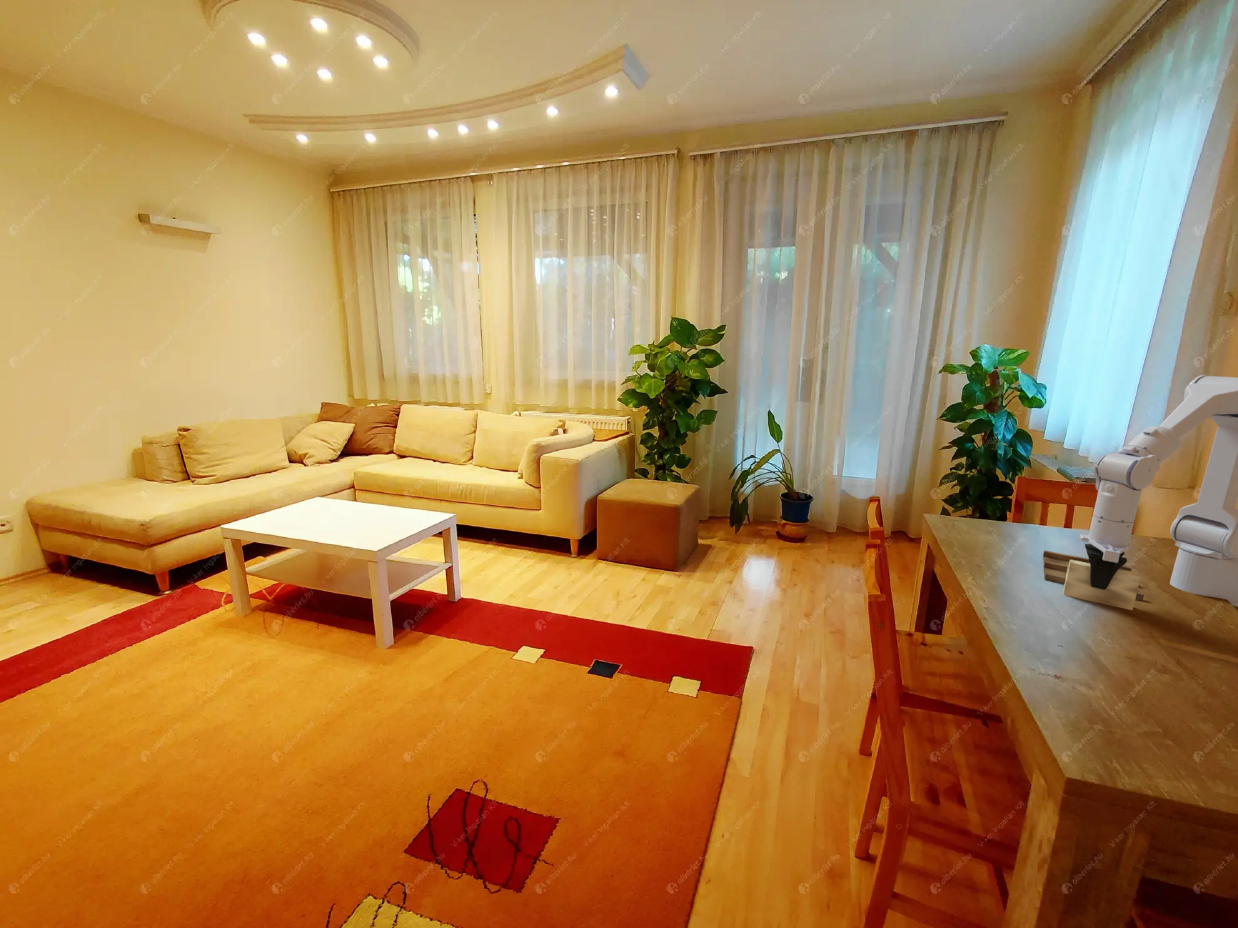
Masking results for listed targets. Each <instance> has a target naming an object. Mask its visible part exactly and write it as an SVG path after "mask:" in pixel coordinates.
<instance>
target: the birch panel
mask: <svg viewBox="0 0 1238 928" xmlns="http://www.w3.org/2000/svg"><path fill="white" fill-rule="evenodd" d="M1090 572H1091V567H1090V563H1085V562H1080V561H1075V560H1070V561H1069V566H1068V570H1067V575H1066V580H1065V584H1063V585H1064V586H1063V588H1062V590H1063V591H1062V595H1064V596H1068V597H1071V598H1075V599H1080V600H1085V601H1090V602H1093V603H1098V604H1103V605H1107V606H1113V607H1116V608H1121V609H1125V610H1129V611H1133V609H1134V606H1135V602H1136V599H1135V598H1136V594H1137V590H1138V591H1139V585H1140V582H1141V579H1142V577H1141V573H1140V572H1136V571H1132V570H1131V571H1126V570H1121V569H1119V570H1118V571H1117V572H1116V573H1115V575H1114V576H1113V578H1112V580H1111V582H1110V584H1109V585H1108V587H1107V588H1106V590H1103V589H1098V588H1094V587H1091V582H1090Z"/></svg>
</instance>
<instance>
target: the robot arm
mask: <svg viewBox="0 0 1238 928" xmlns="http://www.w3.org/2000/svg"><path fill="white" fill-rule="evenodd" d="M1209 418H1211V419H1212V420H1213V422H1214V423H1215V424H1216V425H1217V426H1216V427H1217V428H1216V431H1215V435H1214V439H1213V443H1212V446H1211V450H1210V455H1209V457H1208V458H1209V459H1208V462H1207V465H1206V469H1205V472H1204V476H1203V481H1202V483H1201V487H1200V490H1199V495H1198V498H1197V502H1195V503H1191V504H1189V505H1185V506H1182V507H1181V508H1179V511H1178V513H1177V516H1176V517H1175V519H1174V520H1173V522H1172V524H1171V526H1170V528H1169V529H1170V530H1169V532H1170V536H1171V539H1172V540H1173V541H1174V542H1175V544H1174V546H1176V547H1178V551H1177V554H1176V558H1175V563H1174V565H1173V570H1172V573H1171V577H1170V581H1169V584H1170V586H1171V587H1174V588H1175V589H1177V590H1178V589H1179V590H1181V591H1183V592H1186V593H1190V594H1194V595H1198V596H1202V597H1211V598H1216V599H1217V598H1218V599H1222V600H1227V602H1229V603H1230V605H1231V607H1237V608H1238V507H1237V504H1238V376H1237V377H1235V376H1234V377H1233V376H1215V375H1214V376H1213V375H1207V374H1201V375H1198V376H1195V378H1194V379H1192V380H1191V381H1190V383H1189V384H1188V385H1186V387H1185V389H1184V393H1183V400H1182V401H1181V403H1179V405H1177V407H1176V408H1175V409H1174V410H1173V411H1172V412H1171V413H1170V414H1169V415H1168V416H1167V417H1166V418H1165V419H1164V420H1163V421H1162V422H1161V423H1160V425H1159V426H1157V425H1154V426H1153V425H1152V426H1147V427H1146V428H1144V429H1143V430H1142V431H1141V432H1140V433H1139V434H1138V435H1136V436H1135V437H1134V438H1132V439H1131V440H1130V441H1129V442H1128V443H1127V444H1126V445H1125V446H1123V447H1122V448H1121V449H1120V450H1118V451H1117V452H1110V453H1109V454H1105V455H1103V456H1102V457H1100V459H1098V462H1097V464H1096V465H1095V466H1094V469H1093V473H1094V475H1093V476H1094V477H1095V482H1096V483H1095V487H1094V488H1095V490H1097V496H1096V500H1095V504H1094V509H1093V512H1092V513H1093V514H1092V518H1091V522H1090V527H1089V531H1088V534H1080V535H1079V540H1080V541H1083V542H1087V543H1085V544H1084V548H1085V551H1086V555H1087V557H1088V559H1089V563H1090V567H1091V572H1090V582H1091V587H1094V588H1098V589H1103V590H1106V588H1107V587H1108V585H1109V584H1110V582H1111V580H1112V578H1113V576H1114V575H1115V573H1116V572H1117V571H1118V570H1119V569H1120V568H1121V567H1122V566H1123V565H1124V566H1125V564H1127V562H1128V559H1127V557H1123V556H1124V555H1125V553H1126V551H1128V550H1129V549H1130V547H1131V544H1130V540H1131V536H1132V532H1133V527H1134V523H1135V518H1136V515H1137V511H1138V508H1139V503H1140V499H1141V495H1142V490H1143V489H1146V488H1147V487H1148V486H1150V485H1151V484H1152V483H1153V481H1154V479H1155V478H1156V475H1157V473H1158V472H1159V471H1160V468H1161V466H1160V465H1161V464H1162V463H1164V461H1166V460H1167V459H1168V458H1170V456H1172V455H1173V454H1174V453H1175V452H1177V451H1178V450H1179V449H1180V448H1181V446H1182V441H1181V437H1183V436H1185V435H1186V434H1188V433H1189V432H1190V431H1192V430H1193V429H1194V428H1195V427H1197V426H1198V425H1200V424H1202V423H1203V422H1204V421H1206V420H1207V419H1209Z"/></svg>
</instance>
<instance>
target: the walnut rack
mask: <svg viewBox="0 0 1238 928" xmlns="http://www.w3.org/2000/svg"><path fill="white" fill-rule="evenodd" d="M1042 558H1043V560H1042V561H1043V573H1044V574H1043V575H1044V581H1049V582H1052V583H1053V582H1054V583H1058V584H1063V585H1064V584H1065V580H1066V572H1067V567H1068V565H1069V561H1070V560H1075V561H1080V562H1085V563H1089V558H1086V557H1082V556H1081V557H1080V556H1076V555H1070V554H1066V553H1060V552H1054V551H1049V550H1043V554H1042ZM1120 569H1121V570H1126V571H1132V569H1133V568H1132V567H1131V566H1128V565H1125V564H1124V565H1123V566H1122V567H1121V568H1120ZM1144 597H1145V594H1144V592H1141V591H1139V589H1138V590H1137V594H1136V598H1135V601H1142V602H1143V601H1144Z"/></svg>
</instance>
